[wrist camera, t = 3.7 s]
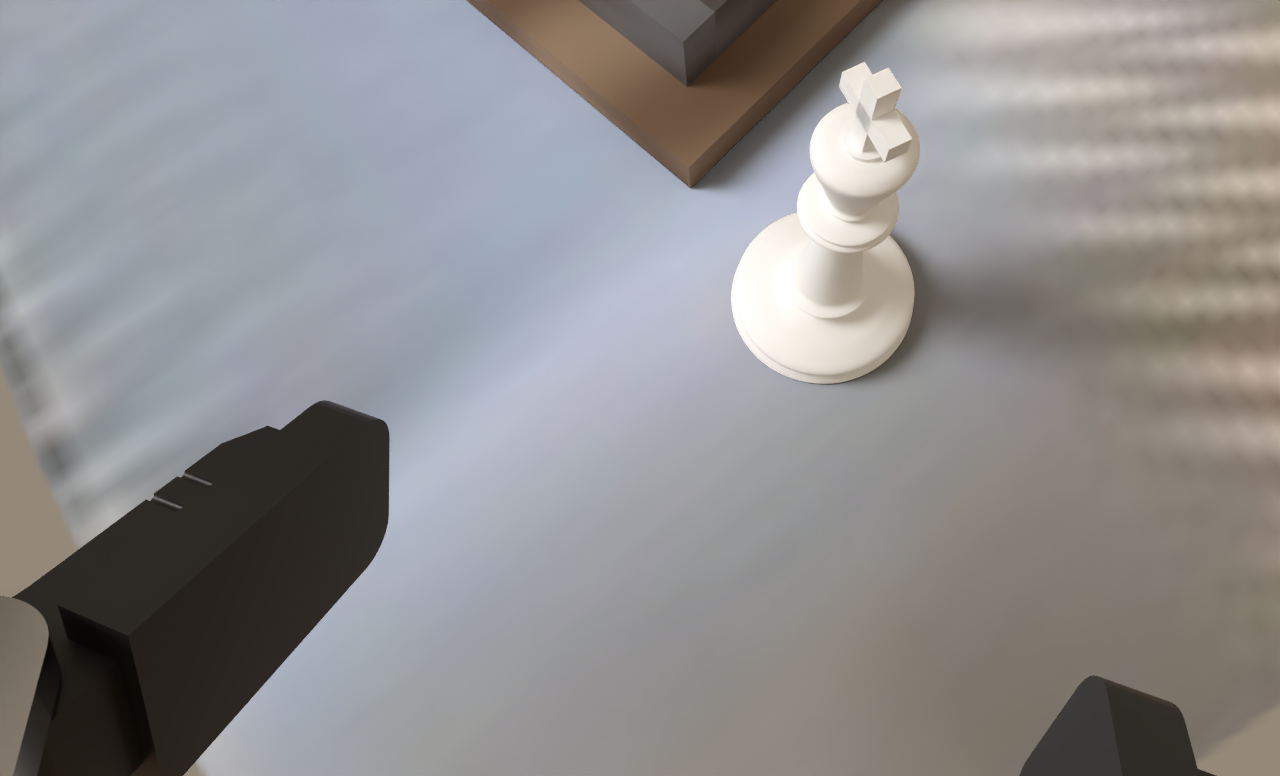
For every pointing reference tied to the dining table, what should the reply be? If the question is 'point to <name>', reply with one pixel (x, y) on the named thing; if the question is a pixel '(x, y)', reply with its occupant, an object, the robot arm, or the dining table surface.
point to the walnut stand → (679, 62)
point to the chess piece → (836, 247)
